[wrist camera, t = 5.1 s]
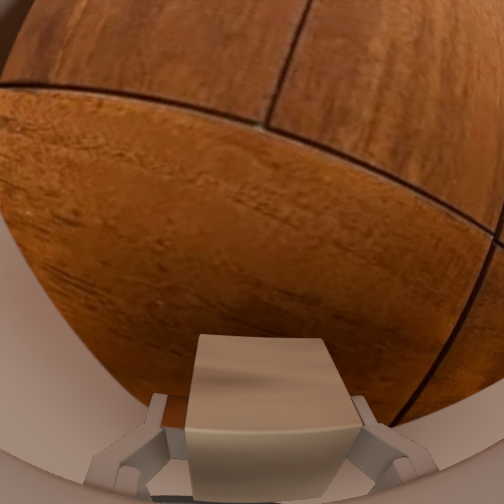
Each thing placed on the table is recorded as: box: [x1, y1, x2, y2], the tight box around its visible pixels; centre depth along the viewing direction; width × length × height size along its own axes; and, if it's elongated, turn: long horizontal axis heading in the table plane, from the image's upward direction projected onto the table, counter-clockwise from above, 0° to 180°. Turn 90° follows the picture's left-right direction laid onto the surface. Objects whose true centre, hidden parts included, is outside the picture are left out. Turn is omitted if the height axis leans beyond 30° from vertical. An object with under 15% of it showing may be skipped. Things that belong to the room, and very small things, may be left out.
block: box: [185, 334, 363, 503], centre depth 9 cm, size 4×4×4 cm
